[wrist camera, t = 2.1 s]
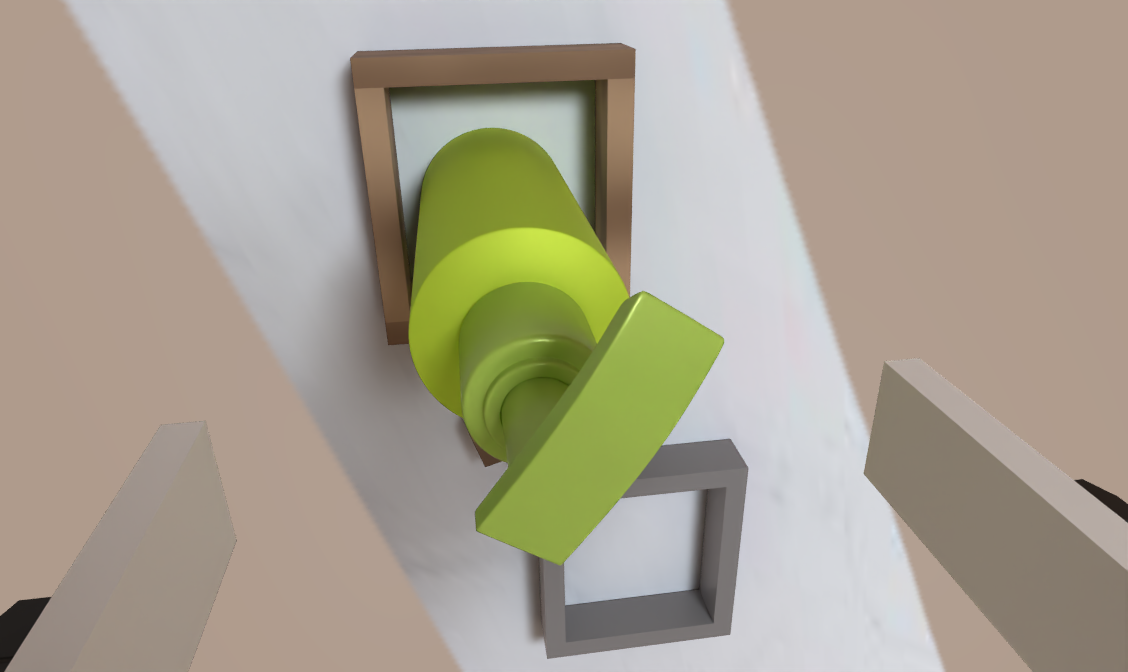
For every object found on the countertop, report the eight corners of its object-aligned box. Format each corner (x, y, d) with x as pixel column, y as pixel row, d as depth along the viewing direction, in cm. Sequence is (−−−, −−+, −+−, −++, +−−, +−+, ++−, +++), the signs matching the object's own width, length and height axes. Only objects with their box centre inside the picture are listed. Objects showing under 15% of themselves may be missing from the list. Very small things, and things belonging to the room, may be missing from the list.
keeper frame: (534, 458, 37) (540, 489, 35) (730, 438, 38) (748, 467, 36) (541, 622, 42) (547, 658, 40) (715, 600, 43) (730, 634, 41)
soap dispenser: (604, 155, 31) (821, 402, 13) (515, 289, 33) (600, 660, 15) (481, 74, 29) (544, 239, 11) (394, 223, 31) (331, 560, 13)
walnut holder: (357, 51, 28) (350, 58, 26) (620, 43, 29) (635, 48, 27) (391, 319, 33) (388, 345, 31) (616, 303, 34) (629, 326, 32)
